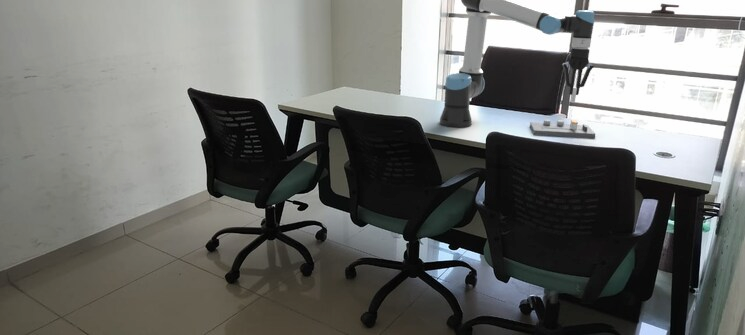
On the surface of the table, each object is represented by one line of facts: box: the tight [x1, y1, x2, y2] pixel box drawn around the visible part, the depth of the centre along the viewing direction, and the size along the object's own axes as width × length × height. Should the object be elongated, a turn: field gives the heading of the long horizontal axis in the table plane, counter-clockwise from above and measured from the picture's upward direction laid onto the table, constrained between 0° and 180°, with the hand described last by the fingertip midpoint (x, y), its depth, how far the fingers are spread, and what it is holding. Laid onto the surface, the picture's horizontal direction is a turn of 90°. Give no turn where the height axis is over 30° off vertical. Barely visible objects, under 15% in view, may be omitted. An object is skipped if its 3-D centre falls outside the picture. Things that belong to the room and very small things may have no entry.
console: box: [529, 119, 596, 139], centre depth 242 cm, size 26×16×4 cm, turn 80°
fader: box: [570, 119, 579, 130], centre depth 239 cm, size 2×4×3 cm, turn 170°
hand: (572, 102), depth 236 cm, fingers closed
